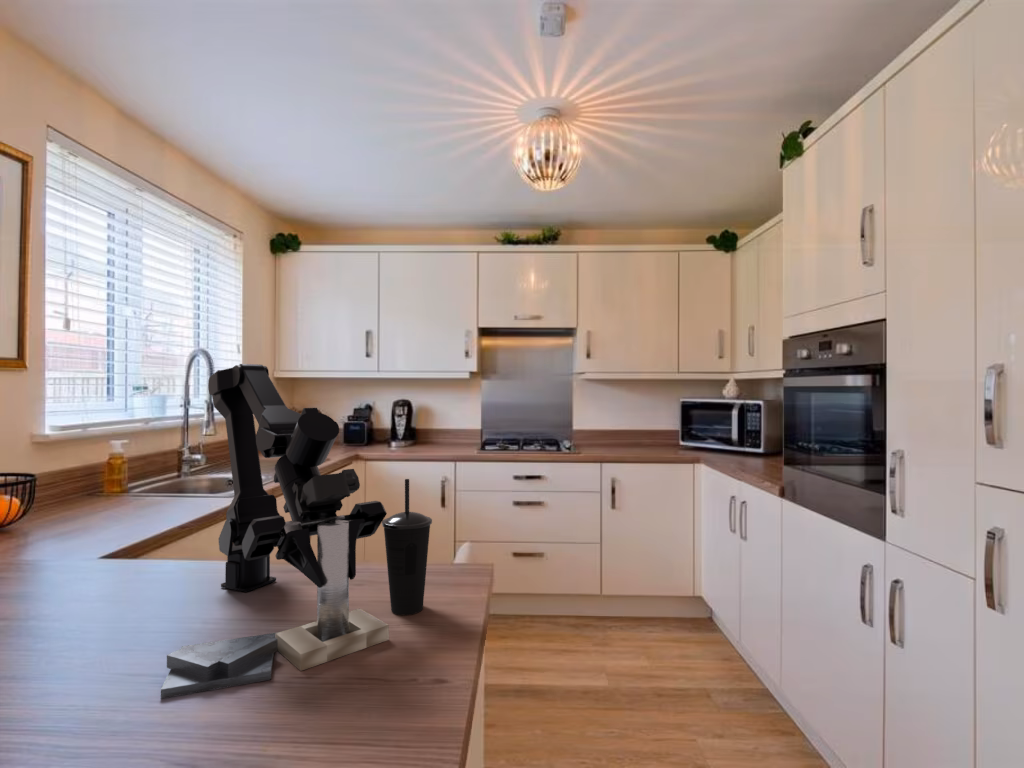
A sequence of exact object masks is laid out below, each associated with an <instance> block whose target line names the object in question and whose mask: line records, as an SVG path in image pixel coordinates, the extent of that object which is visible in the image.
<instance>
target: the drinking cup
mask: <svg viewBox="0 0 1024 768" xmlns="http://www.w3.org/2000/svg"><path fill="white" fill-rule="evenodd" d="M432 523H433V519H432V518H431V517H429V516H426V515H425V514H423V513H421V512H416V511H415V512H414V511H410V478H405V479H404V511H403V512H399V513H398V512H397V513H395V514H393V515H391V516H389V517H387V518H384V519H383V521H382V522H381V526H382V527H383V533H384V543H385V554H386V565H387V567H386V568H387V578H388V589H389V590H388V591H389V598H390V599H389V600H390V601H389V602H390V609H391V613H392V614H395V615H398V616H410V615H415V614H417V613H420V612H421V611H423V608H424V599H425V587H426V577H427V568H428V567H427V566H428V565H427V564H428V556H429V555H428V552H429V544H430V543H429V541H430V530H431V529H430V528H431V525H432Z"/></svg>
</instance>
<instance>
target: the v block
mask: <svg viewBox="0 0 1024 768" xmlns="http://www.w3.org/2000/svg"><path fill="white" fill-rule="evenodd" d="M276 633H277V632H273V633H265V634H258V635H257V634H256V635H251V636H244V637H239V638H238V637H237V638H231V639H223V640H218V641H217V640H215V641H212V642H211V641H210V642H203V643H197V644H190V645H188V644H187V645H183V646H181V648H179V649H178V650H175V651H173V652H170V653H169V654H166V668H167V669H169V672H168V674H167V676H166V678H165V680H164V683H163V684H162V685H161V686H162V687H161V688H160V699H166V698H173V697H180V696H185V695H190V694H196V693H201V692H202V693H203V692H207V691H212V690H217V689H219V690H220V689H225V688H231V687H236V686H243V685H249V684H254V683H255V684H256V683H259V682H265V681H271V678H272V671H273V670H272V669H273V662H274V655H275V652H279V651H278V639H277V638H276Z"/></svg>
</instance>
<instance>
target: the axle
mask: <svg viewBox="0 0 1024 768" xmlns="http://www.w3.org/2000/svg"><path fill="white" fill-rule="evenodd" d="M316 537H317V539H316V540H317V546H316V547H317V550H316V551H317V553H316V555H317V556H316V559H317V562H318V564H319V567H320V569H321V572H322V575H323V579H324V585H323V587H321V588H319V587H318V586H317V585H316V590H317V593H316V596H317V597H316V600H317V601H316V606H317V607H316V612H317V613H316V616H317V617H316V619H317V620H316V621H317V638H318V639H319V640H320V641H322V642H324V641H327V640H330V639H333V638H336V637H339V636H342V635H345V634H349V611H350V578H349V522H348V521H345V520H330V521H324V522H320V523H318V524H317V535H316Z"/></svg>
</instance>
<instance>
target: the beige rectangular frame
mask: <svg viewBox="0 0 1024 768" xmlns="http://www.w3.org/2000/svg"><path fill="white" fill-rule="evenodd" d="M389 627H390V625H389V624H388V623H386V622H385V621H383V620H380V619H379V618H377V617H376V616H375V615H372V614H370V613H369V612H367V611H365V610H363V609H361V608H357V609H354V610H349V634H345V635H342V636H339V637H336V638H333V639H330V640H327V641H324V642H322V641H320V640H319V639H318V638H317V620H316V621H313V622H309V623H306V624H303V625H300V626H296V627H293V628H289V629H285V630H282V631H279V632H275V633H276V636H275V638H277V639H278V651H277V652H278V653H279V654H281V655H282V656H283V657H284V658H285V659H286V660H287V661H289V662H290V664H292V665H293V666H294V667H295V668H297V669H298V670H299V671H300V672H301V671H304V670H307V669H310V668H313V667H316V666H319V665H321V664H324V663H328V662H330V661H334V660H335V659H338V658H341V657H345V656H347V655H350V654H353V653H355V652H359V651H362V650H364V649H366V648H367V649H368V648H369V647H372V646H375V645H378V644H380V643H384V642H387V641H389V638H390V637H389V634H390V633H389V631H390V630H389Z"/></svg>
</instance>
